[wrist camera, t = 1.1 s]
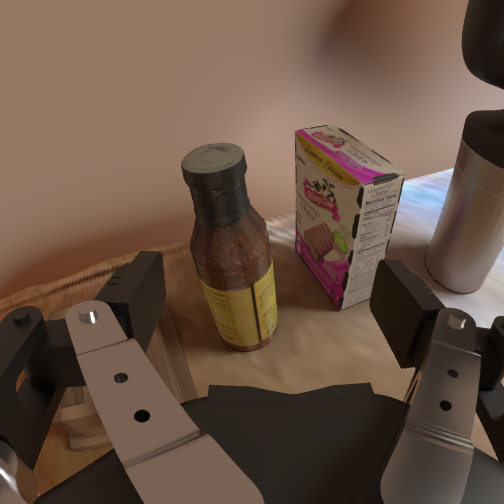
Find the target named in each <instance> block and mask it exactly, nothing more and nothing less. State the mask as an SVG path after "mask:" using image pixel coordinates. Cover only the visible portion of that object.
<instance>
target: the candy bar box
mask: <svg viewBox="0 0 504 504" xmlns="http://www.w3.org/2000/svg"><path fill="white" fill-rule="evenodd" d="M295 156H296V157H295V162H296V242H295V249H296V251H297V252H298V254H299V255H300V256H301V258H302V259H303V260H304V262H305V263H306V264H307V266H308V267H309V269H310V270H311V271H312V273H313V274H314V276H315V277H316V278H317V280H318V281H319V283H320V284H321V285H322V287H323V288H324V290H325V291H326V292H327V294H328V295H329V297H330V298H331V300H332V301H333V303H334V304H335V305H336V307H337V308H338V310H339V311H342V310H344V309H347V308H349V307H351V306H353V305H355V304H357V303H360V302H362V301H365V300H367V299H369V298H370V295H371V291H372V287H373V282H374V278H375V273H376V269H377V265H378V262H379V261H380V260H381V259H384V258H385V254H386V251H387V247H388V244H389V240H390V236H391V233H392V228H393V225H394V221H395V217H396V213H397V209H398V205H399V200H400V196H401V192H402V186H403V182H404V177H405V173H404V172H403V171H401V170H400V169H398V168H397V167H396V166H394V165H393V164H392V163H390V162H389V161H387V160H386V159H385V158H383V157H382V156H380V155H379V154H378V153H376V152H375V151H373V150H372V149H371V148H369V147H368V146H366V145H365V144H363V143H361V142H360V141H359V140H357V139H356V138H354V137H353V136H351V135H350V134H348V133H347V132H345V131H344V130H342V129H341V128H339V127H338V126H336V125H334V124H330V125H324V126H317V127H311V128H310V129H309V128H304V129H300V130H297V131H295Z"/></svg>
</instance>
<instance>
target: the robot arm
mask: <svg viewBox="0 0 504 504" xmlns="http://www.w3.org/2000/svg"><path fill="white" fill-rule="evenodd" d="M462 53H463V58H464V61H465V64H466V66H467V68H468V69H469V71H470V72H471V73H472V74H473V75H474V76H476V77H477V78H479V79H480V80H482V81H484V82H486V83H488V84H491V85H494V86H497V87H499V88H501V89H504V0H469V2H468V6H467V11H466V15H465V19H464V25H463V31H462ZM503 246H504V109H502V110H481V111H474V112H472V113H470V114H469V115H468V116H467V118H466V121H465V124H464V129H463V133H462V139H461V143H460V147H459V151H458V156H457V159H456V164H455V167H454V171H453V175H452V178H451V182H450V185H449V189H448V192H447V195H446V199H445V202H444V205H443V208H442V211H441V214H440V217H439V220H438V223H437V226H436V229H435V232H434V234H433V237H432V240H431V243H430V245H429V248H428V251H427V254H426V265H427V268H428V270H429V272H430V273H431V275H432V276H433V277H434V279H435V280H437V281H438V282H439V283H440V284H441V285H443V286H444V287H446V288H448V289H450V290H452V291H455V292H458V293H471V292H474V291H476V290H478V289H479V288H480V287H481V285H482V284H483V282H484V281H485V279H486V277H487V275H488V274H489V272H490V270H491V268H492V266H493V265H494V263H495V261H496V259H497V257H498V255H499V253H500V252H501V250H502V248H503ZM165 297H166V290H165V280H164V269H163V258H162V254H161V252H156V251H140V252H139V254H138V255H137V256H136V258H135V259H134V260H133V262H132V263H131V264H130V263H126V264H125V265H123V266H121V267H120V268H118V269H117V270H116V271H115V272H114V274H113V275H112V276H111V278H110V279H109V280H108V281H107V283H106V284H105V285H104V287H103V288H102V289H101V291H100V292H99V293H98V295H97V296H96V297H95V299H94V300H90V301H84V302H81V303H78V304H76V305H74V306H73V307H71V308H70V309H69V310H68V312H67V313H66V317H65V318H66V319H60V320H49V321H44V318H43V315H42V312H41V310H40V309H39V308H37V307H34V306H25V307H20V308H17V309H15V310H13V311H12V312H10V313H9V314H8V315H7V316H6V317H5V318H4V319H3V320H2V321H1V323H0V504H504V387H503V385H502V383H501V381H502V379H503V377H504V316H498V317H496V318H495V319H494V322H493V324H492V326H491V328H490V329H487V328H481V327H476V323H475V321H474V319H473V318H472V317H471V316H470V315H469V314H467V313H466V312H464V311H462V310H459V309H456V308H446V307H445V306H444V305H443V304H442V302H441V301H440V300H439V299H438V298H437V297H436V296H435V294H434V293H432V291H431V290H430V289H429V288H428V287H427V285H426V284H425V283H424V282H423V281H422V280H421V279H420V278H419V277H417V276H415V275H414V274H412V273H411V272H410V271H409V270H408V269H407V268H406V267H405V266H404V264H403V263H402V262H401V261H400V260H385V259H381V260H380V261H379V262H378V265H377V269H376V273H375V278H374V282H373V287H372V291H371V295H370V309H371V312H372V314H373V316H374V318H375V319H376V321H377V323H378V325H379V327H380V329H381V331H382V332H383V334H384V336H385V338H386V340H387V342H388V344H389V346H390V348H391V350H392V352H393V353H394V355H395V357H396V359H397V361H398V363H399V365H400V367H401V369H403V368H411V367H415V372H414V374H413V376H412V378H411V381H410V384H409V386H408V389H407V391H406V394H405V396H404V398H403V401H400V400H398V399H395V398H392V397H388V396H385V395H380V394H374V392H373V389H372V387H371V384H370V383H359V384H346V385H333V386H329V387H325V388H321V389H317V390H313V391H309V392H304V393H300V394H286V393H281V392H275V391H270V390H265V389H260V388H255V387H248V386H221V385H209V389H208V397H202V398H197V399H193V400H189V401H186V402H183V403H181V404H179V403H178V401H177V400H176V398H175V397H174V396H173V394H172V393H171V392H170V390H169V389H168V387H167V386H166V384H165V383H164V382H163V380H162V379H161V377H160V376H159V374H158V373H157V371H156V370H155V369H154V367H153V366H152V364H151V363H150V361H149V360H148V358H147V356H146V355H145V354H146V351H147V348H148V346H149V343H150V341H151V338H152V335H153V333H154V330H155V328H156V325H157V323H158V320H159V318H160V315H161V313H162V310H163V308H164V305H165ZM22 370H23V371H24V373H25V375H26V378H25V379H24V381H23V383H22V385H21V386H20V388H19V390H18V392H17V393H16V381H17V379H18V377H19V375H20V374H21V372H22ZM81 386H87V387H88V389H89V392H90V395H91V397H92V400H93V402H94V404H95V407H96V409H97V412H98V414H99V416H100V419H101V421H102V423H103V425H104V428H105V430H106V432H107V434H108V436H109V438H110V440H111V442H112V445H113V447H114V448H113V449H112V450H110V451H109V452H107V453H106V454H104V455H103V456H102V457H100V458H99V459H97V460H96V461H94V462H93V463H91V464H90V465H88V466H87V467H85V468H83V469H82V470H80V471H79V472H77V473H76V474H74V475H73V476H71V477H69V478H68V479H66V480H65V481H63V482H62V483H60V484H58V485H57V486H55V487H53V488H52V489H50V490H49V491H47V492H45V493H44V494H42V495H41V496H40V497H38V481H37V479H36V476H35V475H34V473H33V470H34V467H35V464H36V462H37V459H38V456H39V454H40V451H41V448H42V446H43V443H44V441H45V438H46V435H47V433H48V431H49V428H50V426H51V423H52V421H53V418H54V416H55V414H56V411H57V409H58V407H59V404H60V402H61V400H62V398H63V395H64V393H65V391H66V389H67V387H81ZM475 411H476V413H477V415H478V417H479V419H480V421H481V423H482V425H483V427H484V429H485V432H486V434H487V436H488V438H489V440H490V442H491V444H492V447H493V449H494V451H495V453H496V456H497V458H498V460H499V461H497V460H496V459H494V458H492V457H491V456H489V455H487V454H486V453H484V452H482V451H481V450H479V449H478V448H476V447H474V446H473V444H472V443H471V441H470V439H471V433H472V428H473V422H474V416H475Z"/></svg>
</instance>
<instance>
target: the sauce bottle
mask: <svg viewBox="0 0 504 504" xmlns="http://www.w3.org/2000/svg"><path fill="white" fill-rule="evenodd" d="M181 167H182V172H183V177H184V180H185V182H186V184H187V185H188V186H189V188H190V192H191V196H192V200H193V203H194V212H195V215H196V218H195V224H194V230H193V234H192V237H191V241H190V250H191V253H192V256H193V259H194V263H195V266H196V270H197V274H198V277H199V280H200V283H201V286H202V289H203V292H204V295H205V298H206V300H207V303H208V306H209V308H210V311H211V313H212V316H213V319H214V322H215V324H216V327H217V330H218V332H219V334H220V335H221V337H222V338H223V339H224V340H225V342H227V343H228V344H229V345H230V346H232V347H233V348H235V349H237V350H240V351H249V350H255V349H258V348H262V347H264V346H265V345H267V344H268V343H269V342H270V341H271V339H272V337H273V336H274V334H275V332H276V330H277V318H278V317H277V304H276V294H275V283H274V272H273V261H272V253H271V250H270V245H269V235H268V232H267V229H266V223H265V221H264V219H263V218H262V217H261V216H260V215H259V214H258V213H257V211H256V210H255V209H254V208H253V207H252V206H251V205H250V201H249V198H248V196H247V189H246V183H245V176H244V175H245V173H246V170H247V164H246V160H245V156H244V151H243V150H242V149H241V148H240V147H239V146H237V145H234V144H229V143H218V144H208V145H204V146H200V147H198V148H196V149H194V150H192V151H191V152H190V153H188V154H187V155H186V156H185V157H184V159H183V160H182V162H181Z"/></svg>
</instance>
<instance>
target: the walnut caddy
mask: <svg viewBox="0 0 504 504" xmlns="http://www.w3.org/2000/svg"><path fill="white" fill-rule="evenodd" d="M92 300H94V299H92ZM89 301H90V300H89ZM71 307H73V306H71ZM71 307H68V308H65V309H62V310H59V311H56V312H53V313H50V314H49V320H60V319H66V318H65V317H66V313H67V312H68V310H69V309H70V308H71ZM145 355H146V356H147V358H148V360H149V361H150V363H151V364H152V366H153V367H154V369H155V370H156V371H157V373H158V374H159V376H160V377H161V379H162V380H163V382H164V383H165V384H166V386H167V387H168V389H169V390H170V392H171V393H172V394H173V396H174V397H175V398H176V400H177V401H178V403H179V404H181V403H183V402H186V401H189V400H193V399H197V398H198V395H197V392H196V389H195V386H194V383H193V380H192V377H191V374H190V371H189V368H188V365H187V362H186V358H185V355H184V352H183V349H182V345H181V342H180V339H179V335H178V332H177V328H176V325H175V321H174V318H173V314H172V311H171V307H170V305H169V303H167V304H165V305H164V308H163V310H162V313H161V315H160V318H159V320H158V323H157V325H156V328H155V330H154V333H153V335H152V338H151V341H150V343H149V346H148V348H147V351H146V354H145ZM51 424H53V425H54V426H56V427H58V428H60V429H61V430H63V431H65V432H67V433H68V434H69V441H70V448H71V449H72V450H74V451H82V450H88V449H93V448H99V447H104V446H109V445H112V442H111V440H110V438H109V436H108V434H107V432H106V430H105V428H104V425H103V423H102V421H101V419H100V416H99V414H98V412H97V409H96V407H95V404H94V402H93V400H92V397H91V395H90V392H89V389H88V387H87V386H81V387H67V389H66V391H65V393H64V395H63V398H62V400H61V402H60V404H59V407H58V409H57V411H56V414H55V416H54V418H53V421H52V423H51Z"/></svg>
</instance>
